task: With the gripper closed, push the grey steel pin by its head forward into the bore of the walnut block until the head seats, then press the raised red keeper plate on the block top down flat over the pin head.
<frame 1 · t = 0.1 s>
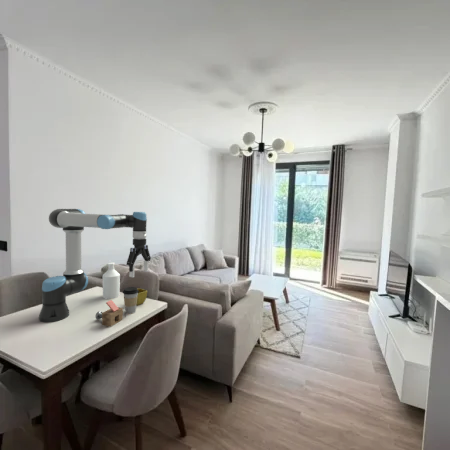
hand: (139, 274, 151), 28 cm above the table, fingers open, 13 cm apart
coffee cup: (130, 312, 164), on the table
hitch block: (112, 322, 149), on the table
pin: (106, 316, 150), point 3 cm above the table, slide at 0.0 cm
keeper: (112, 305, 148), point 10 cm above the table, hinge at 40.0°
bottle: (111, 296, 191), on the table
flower pot: (138, 303, 179), on the table
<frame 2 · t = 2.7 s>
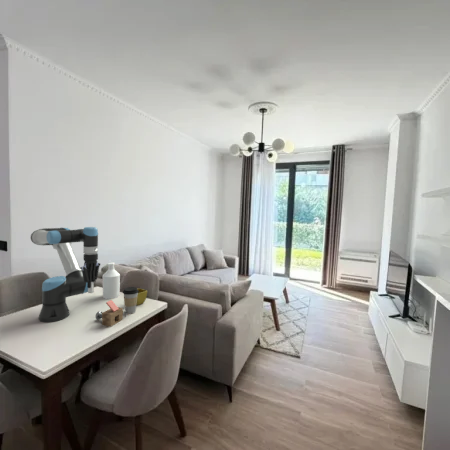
hand: (90, 292, 152), 16 cm above the table, fingers closed
nothing on the table moved.
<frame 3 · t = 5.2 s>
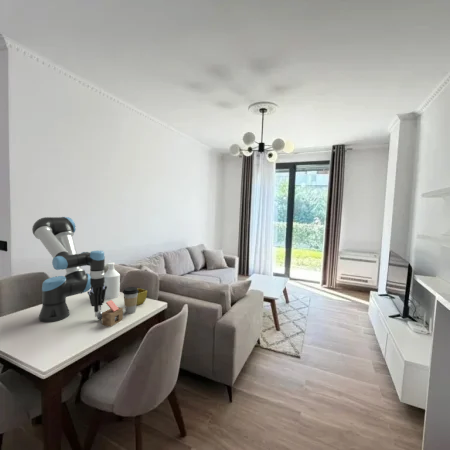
hand: (97, 316, 152), 2 cm above the table, fingers closed
pin: (107, 316, 150), point 3 cm above the table, slide at 1.3 cm, touching gripper
everything else where it was.
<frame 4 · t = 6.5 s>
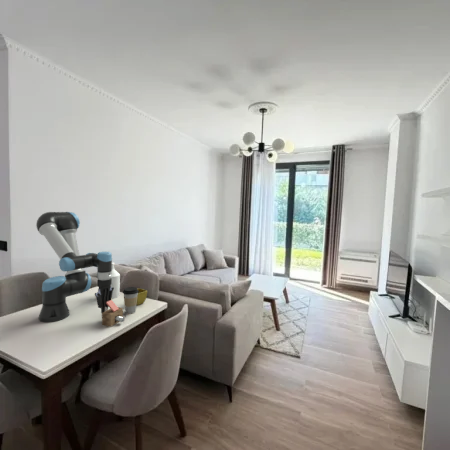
hand: (104, 317, 150), 2 cm above the table, fingers closed
pin: (114, 318, 148), point 3 cm above the table, slide at 6.0 cm, touching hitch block
everything else where it was.
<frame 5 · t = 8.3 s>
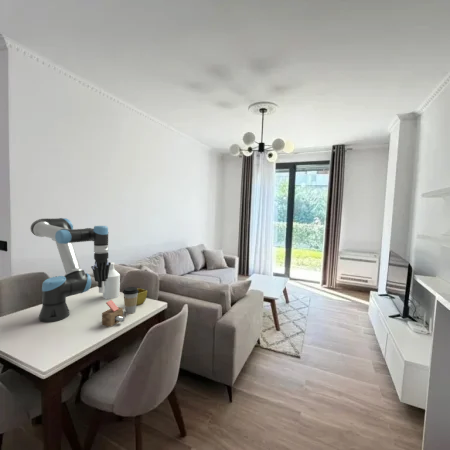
hand: (101, 292, 150), 17 cm above the table, fingers closed
nothing on the table moved.
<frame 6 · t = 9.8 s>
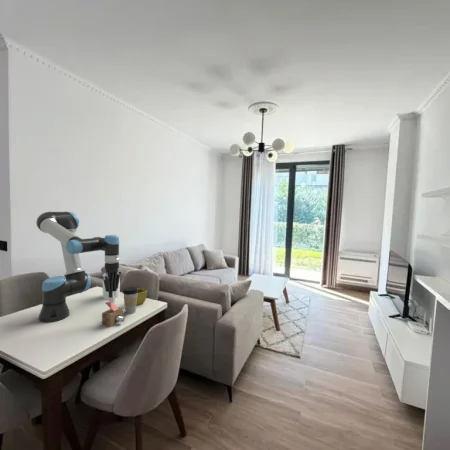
hand: (112, 302, 148), 12 cm above the table, fingers closed
keeper: (112, 305, 148), point 10 cm above the table, hinge at 38.9°, touching gripper
everything else where it was.
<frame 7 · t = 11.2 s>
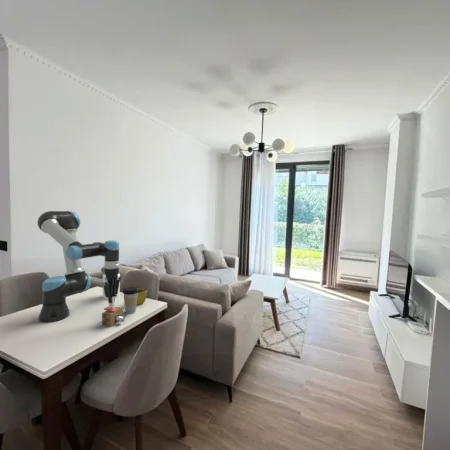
hand: (111, 307, 149), 9 cm above the table, fingers closed
keeper: (111, 309, 149), point 8 cm above the table, hinge at 3.8°
everything else where it was.
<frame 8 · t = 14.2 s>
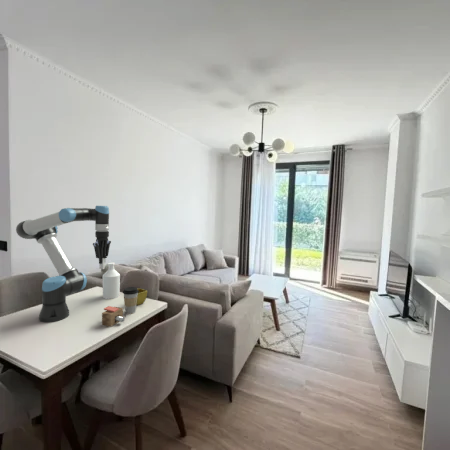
hand: (102, 268, 159), 28 cm above the table, fingers closed
nothing on the table moved.
at the end: pin slide at 6.0 cm; keeper at +4° (first picture: +40°) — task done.
